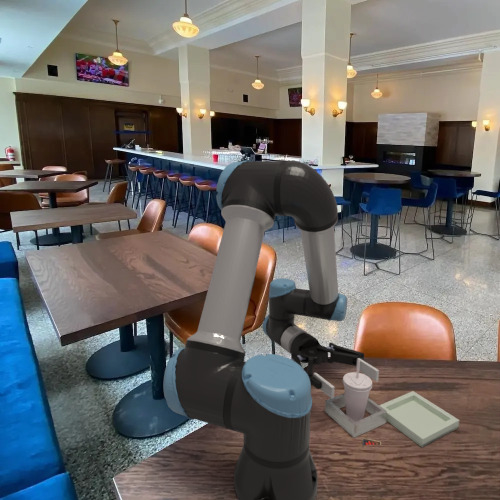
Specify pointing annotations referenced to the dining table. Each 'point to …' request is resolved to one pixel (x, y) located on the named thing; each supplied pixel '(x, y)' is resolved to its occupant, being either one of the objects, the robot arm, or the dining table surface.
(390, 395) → the dining table surface
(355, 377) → the smoothie
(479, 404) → the dining table surface
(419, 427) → the tray
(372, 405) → the square frame
